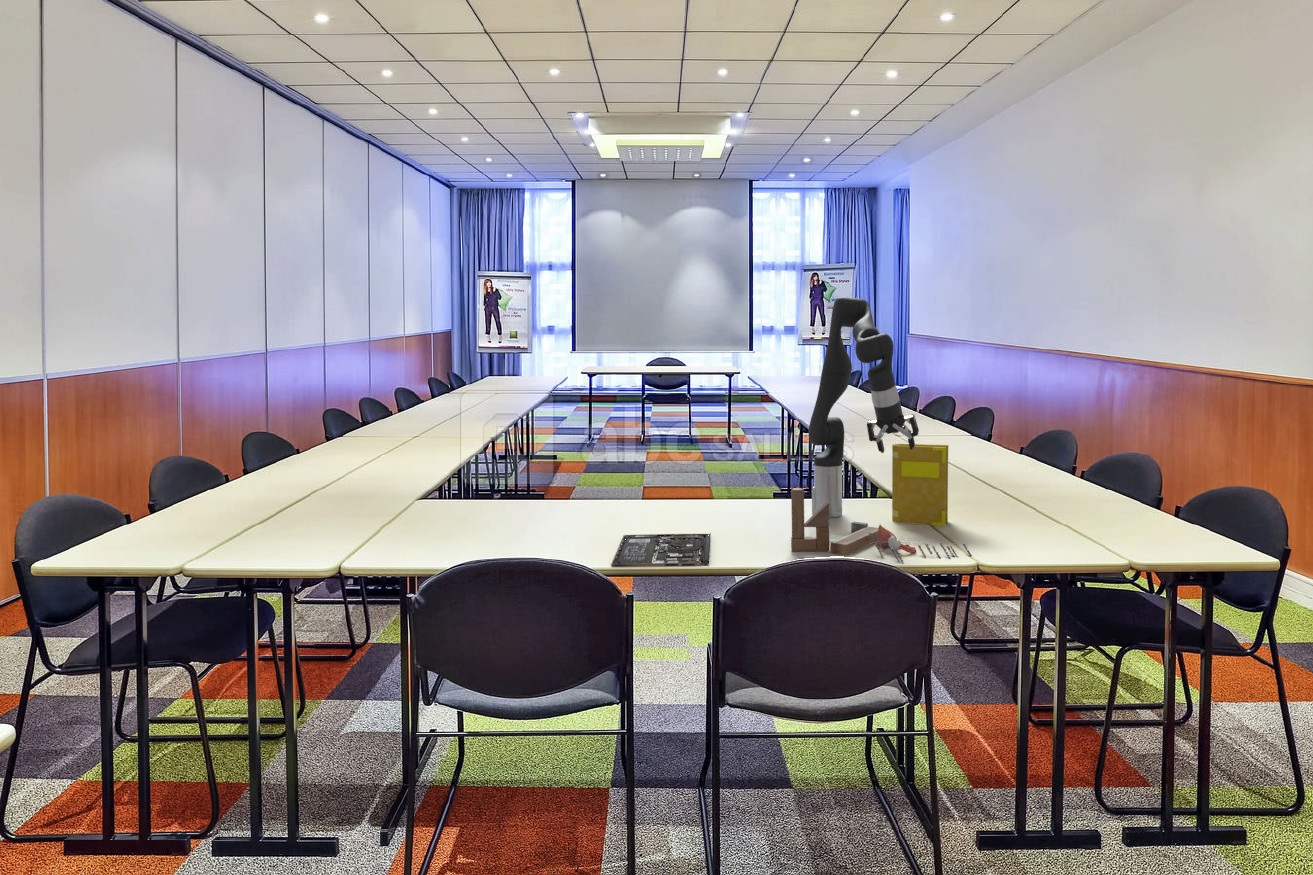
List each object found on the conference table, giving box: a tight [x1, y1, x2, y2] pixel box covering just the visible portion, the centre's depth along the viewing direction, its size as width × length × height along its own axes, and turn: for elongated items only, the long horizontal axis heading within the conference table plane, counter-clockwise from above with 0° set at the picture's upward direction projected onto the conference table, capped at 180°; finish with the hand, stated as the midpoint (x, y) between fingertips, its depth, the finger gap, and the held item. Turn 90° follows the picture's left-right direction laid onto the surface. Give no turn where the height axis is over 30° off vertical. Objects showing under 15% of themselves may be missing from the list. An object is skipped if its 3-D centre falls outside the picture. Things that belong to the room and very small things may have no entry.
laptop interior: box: [610, 532, 712, 567], centre depth 274 cm, size 35×28×2 cm
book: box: [891, 443, 949, 527], centre depth 300 cm, size 17×7×25 cm, turn 65°
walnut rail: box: [829, 521, 879, 556], centre depth 275 cm, size 10×24×4 cm, turn 142°
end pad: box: [814, 533, 846, 544], centre depth 281 cm, size 12×8×1 cm, turn 52°
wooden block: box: [790, 487, 830, 552], centre depth 269 cm, size 4×11×18 cm, turn 83°
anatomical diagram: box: [869, 524, 973, 565], centre depth 263 cm, size 20×9×25 cm
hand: (897, 450), depth 276 cm, fingers open, 8 cm apart
